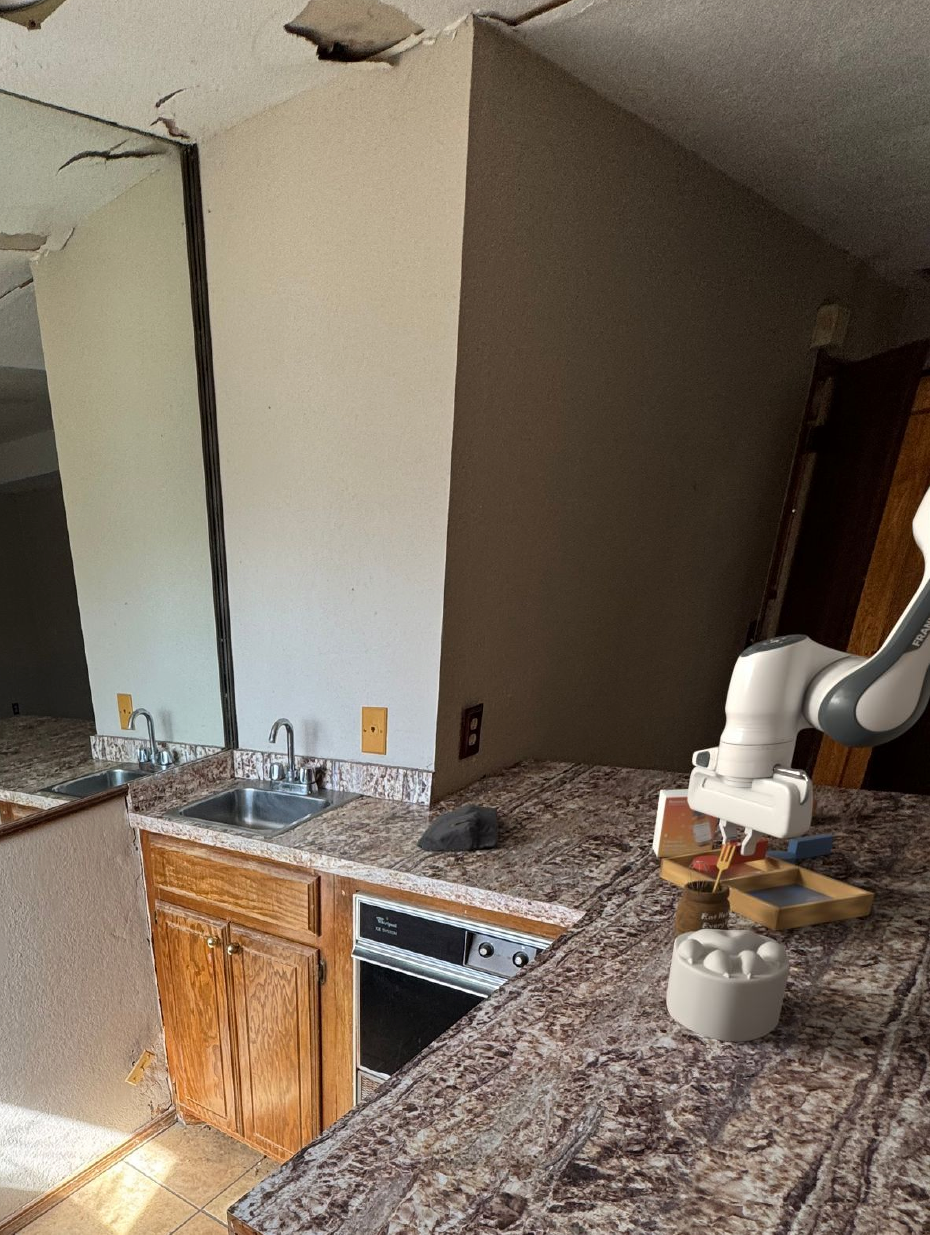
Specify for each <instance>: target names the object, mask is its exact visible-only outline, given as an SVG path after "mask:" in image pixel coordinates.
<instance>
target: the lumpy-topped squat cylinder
mask: <svg viewBox="0 0 930 1235" xmlns="http://www.w3.org/2000/svg"><path fill="white" fill-rule="evenodd" d="M670 963H671V964H670V970H669V976H668V982H667V983H668V984H667V990H666V999H665V1000H666V1009H667V1011H668V1014H669V1015H670V1017H671V1018H672V1019H673V1020H674V1021H676V1022H677V1023H679V1024H680V1025H682V1026H683V1027H685V1028H686V1029H688V1030H690V1031H691V1032H694V1033H696V1034H698V1035H701V1036H704V1037H707V1038H709V1039H710V1038H711V1039H714V1040H717V1041H723V1042H733V1043H734V1042H735V1043H737V1042H747V1041H753V1040H757V1039H760V1038H763V1037H765V1036H766V1035H768V1034H770V1033H771V1032H772V1031H773V1030H774V1029H775V1028H776V1027H777V1026H778V1024H779V1020H780V1015H781V1011H782V1007H783V1002H784V997H785V993H786V988H787V984H788V979H789V975H790V968H791V964H790V959H789V956H788V954H787V950H786V948H785V947H784V946H783V944H781V943H779V942H778V941H776V940H775V939H774V938H771V937H768V936H765V935H762V934H758V933H756V932H754V931H753V930H748V929H726V930H718V929H702V930H699V931H697V932H688V933H684V934H682V935H680V936H677V937H676V938H675V939H674V943H673V949H672V956H671V962H670Z"/></svg>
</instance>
